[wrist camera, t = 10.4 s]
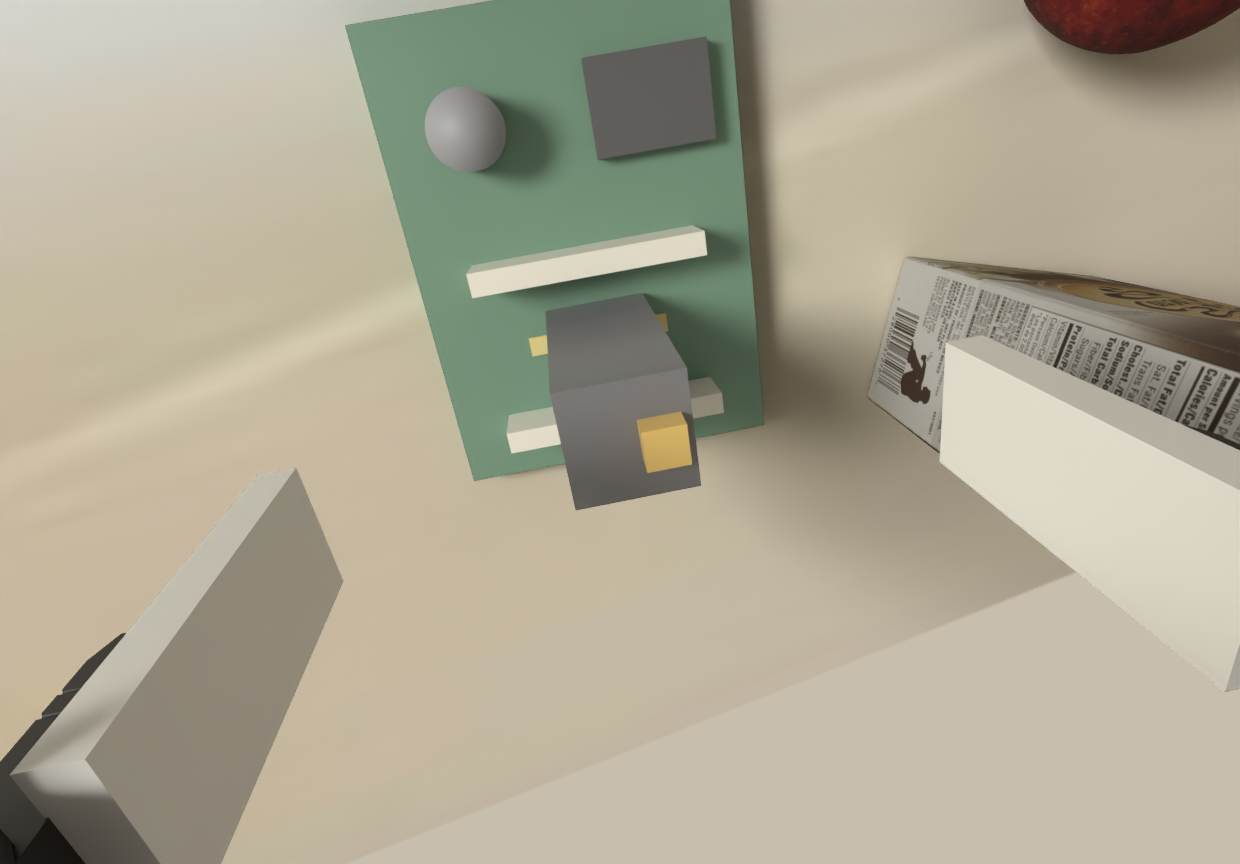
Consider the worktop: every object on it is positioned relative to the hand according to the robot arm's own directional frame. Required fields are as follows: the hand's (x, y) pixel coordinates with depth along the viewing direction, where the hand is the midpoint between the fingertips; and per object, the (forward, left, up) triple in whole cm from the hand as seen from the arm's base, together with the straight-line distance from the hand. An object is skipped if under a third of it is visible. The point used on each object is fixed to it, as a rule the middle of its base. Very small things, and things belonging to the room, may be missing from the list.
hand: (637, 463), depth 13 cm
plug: (+1, 0, -12) cm, 12 cm away
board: (-3, 0, -13) cm, 14 cm away
